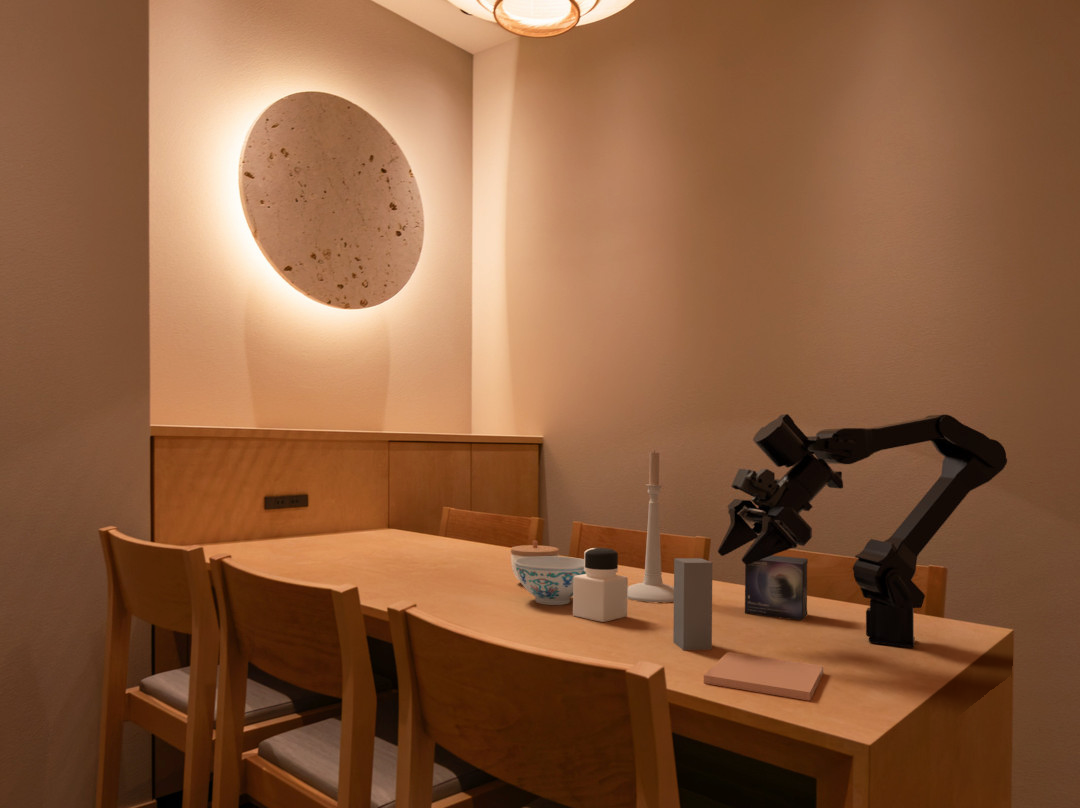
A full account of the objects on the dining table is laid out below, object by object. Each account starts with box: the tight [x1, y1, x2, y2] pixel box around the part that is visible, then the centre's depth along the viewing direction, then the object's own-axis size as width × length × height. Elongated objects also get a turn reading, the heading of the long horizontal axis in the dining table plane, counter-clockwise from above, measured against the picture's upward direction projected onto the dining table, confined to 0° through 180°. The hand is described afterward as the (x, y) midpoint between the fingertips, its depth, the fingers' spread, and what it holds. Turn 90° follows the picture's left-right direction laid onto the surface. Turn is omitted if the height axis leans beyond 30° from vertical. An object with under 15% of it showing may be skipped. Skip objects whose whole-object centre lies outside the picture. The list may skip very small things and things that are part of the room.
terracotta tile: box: [703, 651, 824, 702], centre depth 99 cm, size 13×13×1 cm
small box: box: [744, 555, 809, 621], centre depth 139 cm, size 11×6×10 cm, turn 62°
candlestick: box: [627, 450, 674, 603], centre depth 154 cm, size 13×13×30 cm
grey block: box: [672, 557, 713, 651], centre depth 115 cm, size 4×4×13 cm
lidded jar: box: [510, 540, 560, 585], centre depth 165 cm, size 11×11×9 cm
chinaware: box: [515, 556, 586, 606], centre depth 146 cm, size 15×15×8 cm
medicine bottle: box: [572, 547, 629, 623], centre depth 134 cm, size 7×7×12 cm
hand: (731, 558), depth 116 cm, fingers open, 9 cm apart
